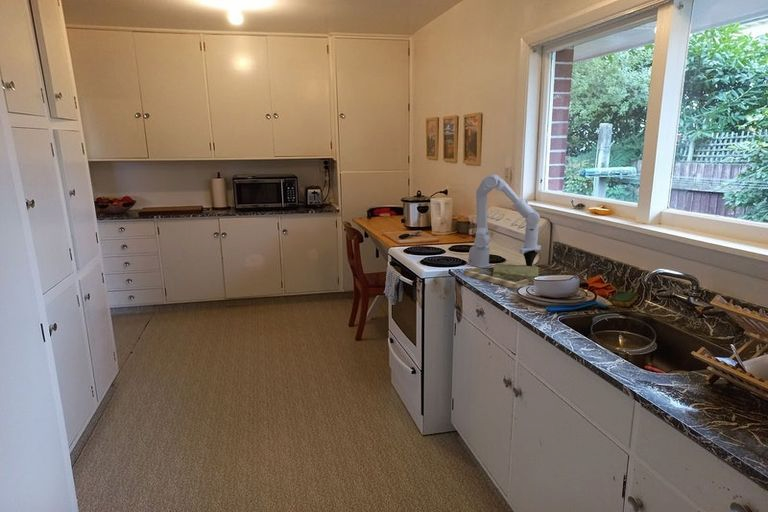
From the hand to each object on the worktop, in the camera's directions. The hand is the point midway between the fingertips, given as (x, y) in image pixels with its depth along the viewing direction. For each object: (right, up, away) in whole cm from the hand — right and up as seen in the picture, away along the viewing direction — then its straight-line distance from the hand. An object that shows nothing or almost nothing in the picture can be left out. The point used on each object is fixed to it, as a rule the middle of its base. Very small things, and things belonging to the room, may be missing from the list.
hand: (529, 266), depth 223 cm
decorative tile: (-9, -4, -8) cm, 12 cm away
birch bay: (-19, -5, -15) cm, 24 cm away
